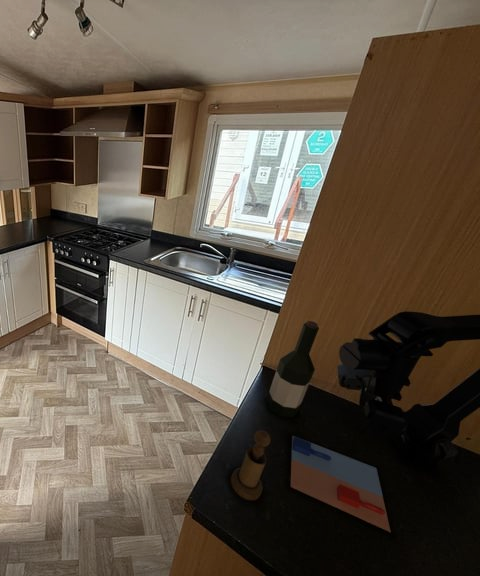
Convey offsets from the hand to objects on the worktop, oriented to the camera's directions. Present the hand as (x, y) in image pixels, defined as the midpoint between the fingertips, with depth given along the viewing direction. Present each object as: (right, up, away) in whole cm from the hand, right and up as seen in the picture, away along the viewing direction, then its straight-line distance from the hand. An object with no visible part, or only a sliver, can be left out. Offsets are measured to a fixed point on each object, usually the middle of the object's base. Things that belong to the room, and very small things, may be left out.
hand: (364, 418), depth 74 cm
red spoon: (-6, -16, -5) cm, 18 cm away
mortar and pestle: (-29, -15, -1) cm, 33 cm away
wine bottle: (-8, -5, +20) cm, 22 cm away
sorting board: (-7, -14, 0) cm, 16 cm away
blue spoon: (-9, -11, +6) cm, 15 cm away
